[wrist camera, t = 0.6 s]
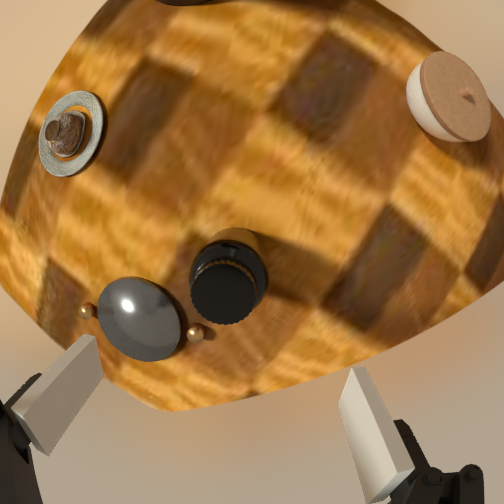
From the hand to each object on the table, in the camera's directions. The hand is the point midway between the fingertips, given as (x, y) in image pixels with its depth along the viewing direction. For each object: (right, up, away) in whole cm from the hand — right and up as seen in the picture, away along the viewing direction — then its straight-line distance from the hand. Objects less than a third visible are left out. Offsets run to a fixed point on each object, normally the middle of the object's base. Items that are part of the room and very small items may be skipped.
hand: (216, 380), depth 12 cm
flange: (-13, -3, +21) cm, 25 cm away
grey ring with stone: (-22, +22, +16) cm, 35 cm away
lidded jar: (+24, +25, +14) cm, 37 cm away
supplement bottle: (0, +6, +19) cm, 20 cm away
